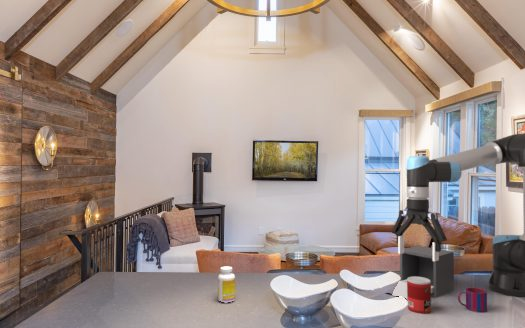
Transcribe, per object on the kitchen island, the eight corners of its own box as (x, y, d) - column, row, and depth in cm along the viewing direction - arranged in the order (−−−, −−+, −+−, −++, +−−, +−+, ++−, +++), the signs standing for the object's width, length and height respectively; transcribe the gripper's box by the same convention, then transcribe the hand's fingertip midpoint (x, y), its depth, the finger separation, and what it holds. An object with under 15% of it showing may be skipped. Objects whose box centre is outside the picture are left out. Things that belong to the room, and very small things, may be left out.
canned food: (429, 315, 131) (429, 284, 131) (405, 311, 135) (405, 280, 135) (432, 308, 137) (432, 278, 137) (409, 304, 142) (409, 275, 142)
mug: (490, 312, 133) (490, 293, 133) (461, 312, 134) (461, 292, 134) (481, 305, 140) (481, 287, 140) (453, 305, 141) (453, 286, 141)
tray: (438, 294, 151) (438, 279, 151) (417, 303, 142) (417, 287, 142) (404, 285, 163) (404, 271, 163) (383, 292, 154) (383, 277, 154)
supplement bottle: (238, 300, 146) (238, 267, 146) (226, 305, 142) (225, 271, 142) (227, 296, 151) (227, 264, 151) (214, 301, 146) (214, 267, 146)
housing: (453, 290, 157) (453, 252, 157) (436, 297, 149) (435, 256, 149) (418, 281, 170) (418, 245, 170) (400, 287, 162) (399, 249, 162)
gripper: (382, 196, 145) (382, 251, 145) (445, 201, 125) (445, 265, 124) (394, 195, 149) (394, 249, 149) (457, 200, 129) (457, 262, 129)
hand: (417, 256), depth 137 cm, fingers open, 13 cm apart
